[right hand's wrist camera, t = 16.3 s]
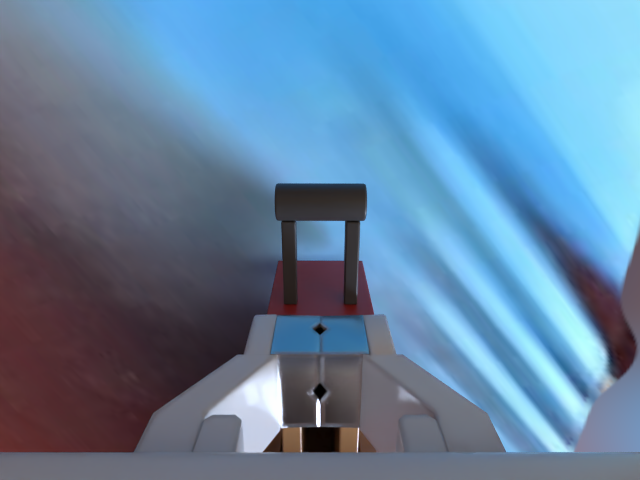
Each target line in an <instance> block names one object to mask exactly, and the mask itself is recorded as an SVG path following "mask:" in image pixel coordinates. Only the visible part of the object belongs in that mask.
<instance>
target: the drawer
mask: <svg viewBox="0 0 640 480" xmlns="http://www.w3.org/2000/svg"><path fill="white" fill-rule="evenodd" d="M366 212H367V190H366V185H365V184H276V188H275V215H276V219H277V220H278V221H282V222H281V227H282V260H283V261H278V265H277V270H276V274H275V279H274V284H273V288H272V293H271V297H270V302H269V307H268V311H267V315H271V314H276V315H315V316H339V315H374V312H373V307H372V303H371V298H370V294H369V289H368V285H367V280H366V276H365V272H364V267H363V263H362V261H359V240H360V221H364V220H365V218H366ZM296 221H345V250H344V261H297V234H296ZM358 443H359V428H343V427H297V428H282V451H283V452H358Z"/></svg>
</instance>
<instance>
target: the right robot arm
mask: <svg viewBox="0 0 640 480" xmlns="http://www.w3.org/2000/svg"><path fill="white" fill-rule="evenodd" d="M297 427H343V428H360V431H361V432H362V433H363V434H364V436H365V437H366V438H367V439H368V441H369V442H370V443H371V444H372V446H373V447H374V448H375V449H376V451H377V452H263V451H264V450H265V449H266V447H267V446H268V445H269V444H270V442H271V441H272V440H273V439H274V437H275V436H276V435H277V434H278V432H279V431H280V428H297ZM0 480H640V452H506V451H505V449H504V447H503V445H502V443H501V440H500V438H499V436H498V434H497V432H496V430H495V428H494V426H493V424H492V422H491V420H490V418H489V416H488V414H487V413H486V412H484V411H483V410H482V409H480V408H479V407H477V406H476V405H474V404H473V403H472V402H470V401H469V400H467V399H466V398H464V397H463V396H461V395H460V394H459V393H457V392H456V391H454V390H453V389H451V388H450V387H448V386H447V385H446V384H444V383H443V382H441V381H440V380H438V379H437V378H436V377H434V376H433V375H431V374H430V373H428V372H427V371H425V370H424V369H423V368H421V367H420V366H418V365H417V364H415V363H414V362H413V361H411V360H410V359H408V358H407V357H405V356H404V355H396V351H395V347H394V344H393V340H392V337H391V333H390V329H389V326H388V322H387V319H386V316H385V315H384V314H378V315H339V316H315V315H276V314H271V315H255V316H254V318H253V322H252V325H251V329H250V333H249V336H248V340H247V344H246V347H245V351H244V355H236V356H235V357H233V358H232V359H230V360H229V361H227V362H226V363H225V364H223V365H222V366H220V367H219V368H217V369H216V370H214V371H213V372H212V373H210V374H209V375H207V376H206V377H204V378H203V379H201V380H200V381H199V382H197V383H196V384H194V385H193V386H191V387H190V388H188V389H187V390H186V391H184V392H183V393H181V394H180V395H178V396H177V397H175V398H174V399H173V400H171V401H170V402H168V403H167V404H165V405H164V406H162V407H161V408H160V409H158V410H157V411H155V412H154V413H153V414H152V416H151V418H150V420H149V422H148V424H147V426H146V428H145V430H144V433H143V435H142V437H141V439H140V441H139V443H138V445H137V447H136V449H135V451H134V452H0Z"/></svg>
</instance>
